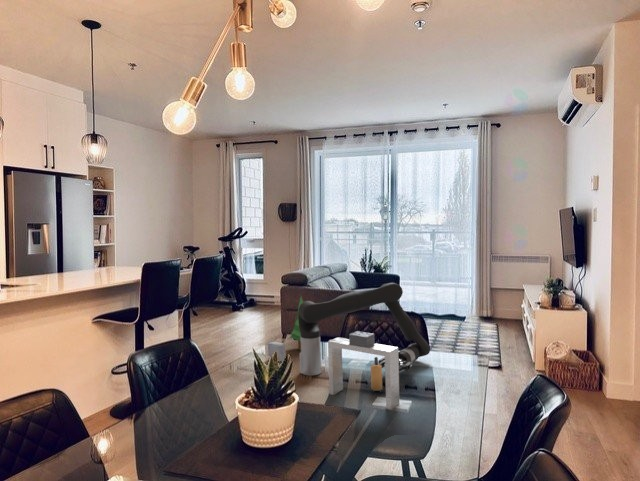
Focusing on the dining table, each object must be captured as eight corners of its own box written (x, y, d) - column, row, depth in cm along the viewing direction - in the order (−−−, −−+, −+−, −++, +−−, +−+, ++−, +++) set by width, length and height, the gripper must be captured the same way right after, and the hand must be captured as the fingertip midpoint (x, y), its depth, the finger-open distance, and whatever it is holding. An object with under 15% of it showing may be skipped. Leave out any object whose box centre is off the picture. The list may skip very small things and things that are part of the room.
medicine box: (285, 359, 231) (285, 343, 231) (280, 362, 227) (279, 345, 227) (273, 357, 235) (273, 341, 235) (268, 360, 232) (267, 343, 231)
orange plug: (369, 390, 187) (368, 358, 187) (373, 386, 192) (372, 354, 191) (380, 392, 185) (379, 359, 185) (383, 388, 190) (383, 356, 189)
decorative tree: (311, 353, 241) (309, 297, 239) (284, 351, 246) (282, 296, 244) (320, 346, 253) (318, 293, 252) (294, 344, 259) (293, 292, 257)
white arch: (329, 394, 185) (327, 331, 184) (338, 388, 191) (337, 327, 189) (390, 409, 169) (389, 341, 167) (399, 403, 174) (398, 336, 173)
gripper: (390, 348, 213) (373, 357, 200) (418, 352, 205) (402, 362, 192) (390, 363, 214) (373, 374, 201) (418, 369, 205) (402, 380, 192)
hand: (387, 368), depth 196 cm, fingers open, 8 cm apart
